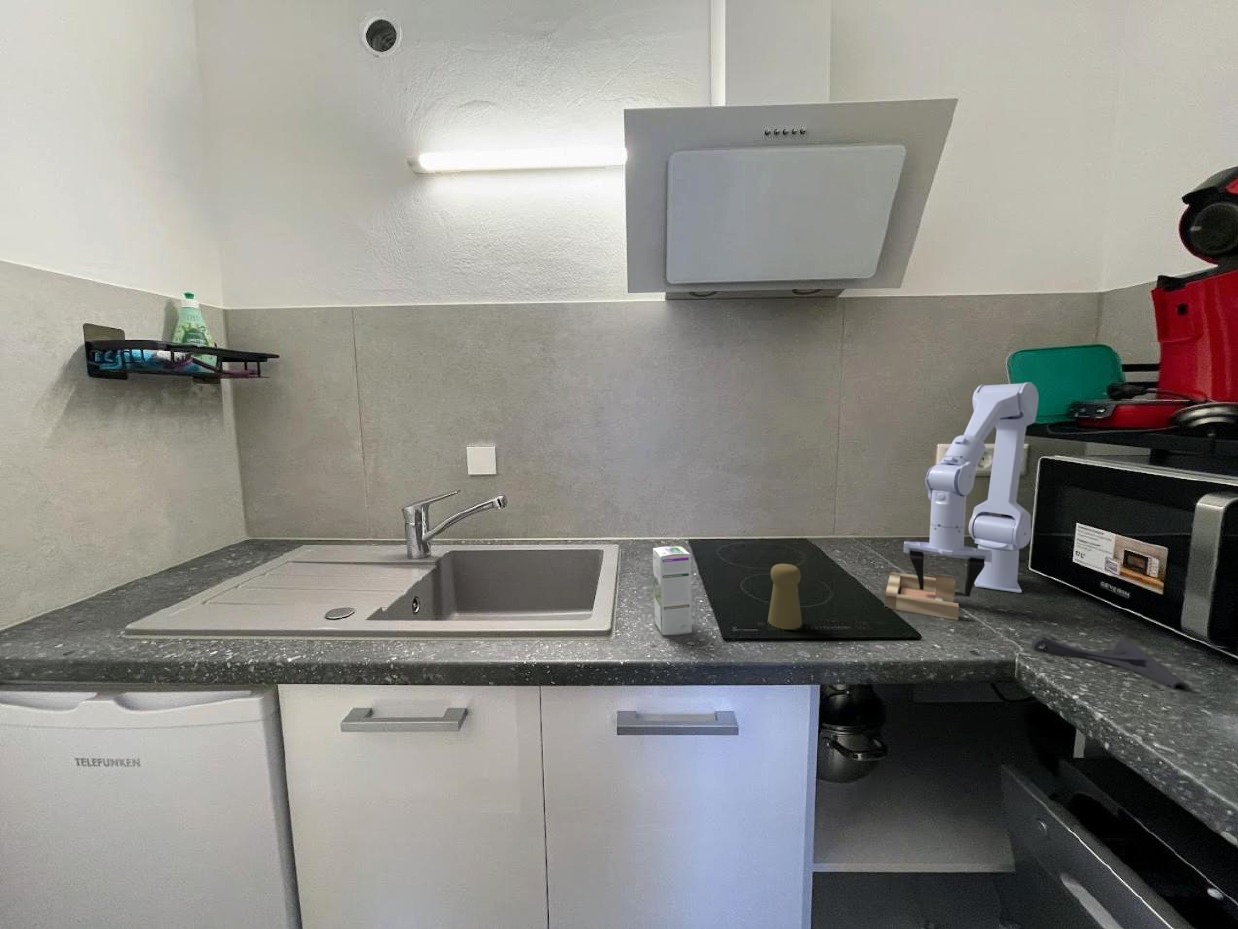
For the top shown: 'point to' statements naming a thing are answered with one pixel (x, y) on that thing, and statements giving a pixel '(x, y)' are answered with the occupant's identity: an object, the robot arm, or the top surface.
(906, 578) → the tile rest
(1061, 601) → the top surface
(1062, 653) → the bracket
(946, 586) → the wood block with post
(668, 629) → the syrup box
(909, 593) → the terracotta tile
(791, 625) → the cork
